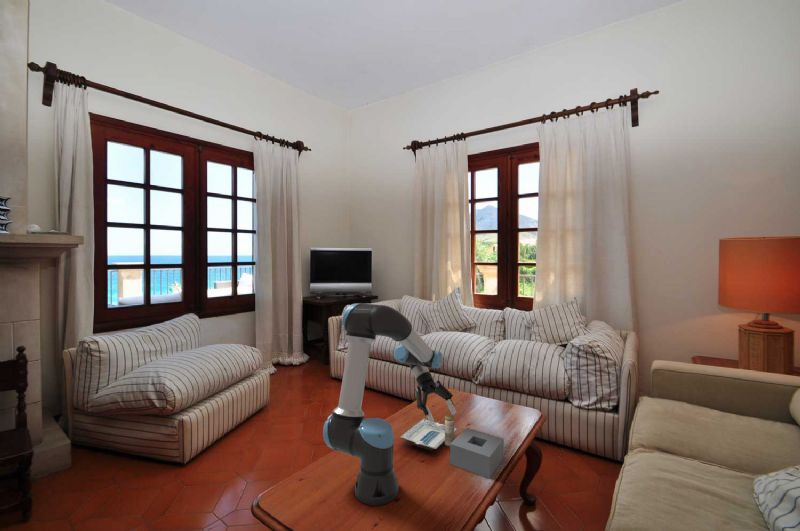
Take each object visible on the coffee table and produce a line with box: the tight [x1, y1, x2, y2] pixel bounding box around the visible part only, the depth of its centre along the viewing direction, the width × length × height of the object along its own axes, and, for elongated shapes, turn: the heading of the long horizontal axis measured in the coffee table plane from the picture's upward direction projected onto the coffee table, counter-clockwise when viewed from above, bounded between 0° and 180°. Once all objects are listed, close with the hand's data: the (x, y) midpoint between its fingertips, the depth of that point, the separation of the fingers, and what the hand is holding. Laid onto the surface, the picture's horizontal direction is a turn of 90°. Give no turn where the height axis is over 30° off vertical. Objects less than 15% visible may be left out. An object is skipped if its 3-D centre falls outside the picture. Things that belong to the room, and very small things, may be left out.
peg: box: [444, 414, 455, 447], centre depth 152 cm, size 4×4×12 cm
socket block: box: [449, 427, 505, 480], centre depth 139 cm, size 16×16×8 cm
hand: (443, 417), depth 157 cm, fingers open, 13 cm apart
